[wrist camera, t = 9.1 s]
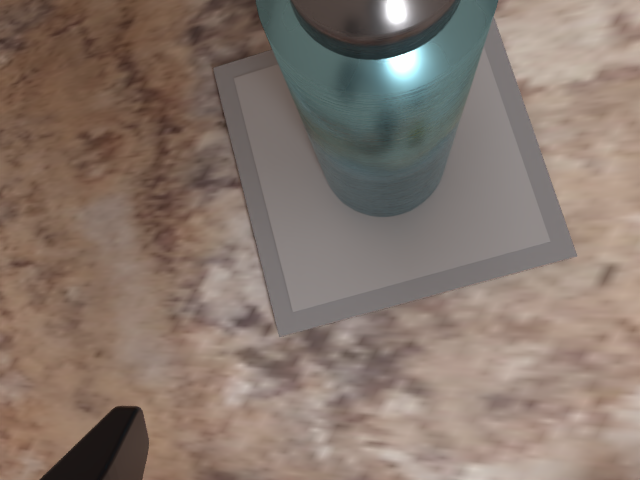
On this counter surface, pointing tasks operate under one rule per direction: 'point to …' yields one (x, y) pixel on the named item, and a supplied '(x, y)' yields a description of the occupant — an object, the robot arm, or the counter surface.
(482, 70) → the coaster
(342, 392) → the counter surface
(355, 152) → the bottle
